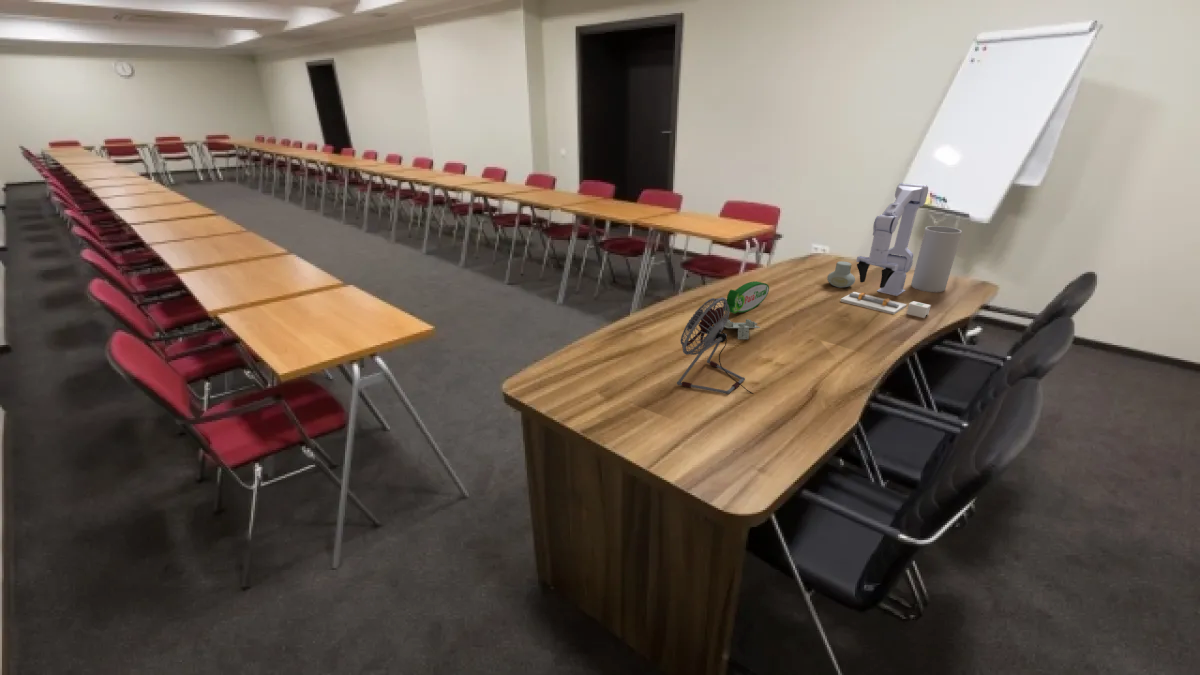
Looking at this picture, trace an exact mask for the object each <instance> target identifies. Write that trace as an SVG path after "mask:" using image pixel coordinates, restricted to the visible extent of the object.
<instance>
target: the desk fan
mask: <svg viewBox="0 0 1200 675" xmlns="http://www.w3.org/2000/svg"><path fill="white" fill-rule="evenodd" d="M718 303H719V304H718ZM716 306H717V307H716ZM726 306H727V307H728V309H727V310H728V312H727V311H726V308H727V307H726ZM729 316H730V312H729V306H728V304H727V298H725V297H723V296H722V297H719V298H714V297H713V298H709V299H707V300H706V301H705V302H704V303H703V304H702V305H701V306H700V307H698V309H697V310H696V311H695V312H694V314H693V315H692V316H691V317H690V319H688V322H687V323H686V325H685V327H684V329H683V331H682V333H681V334H682V335H681V336H680V344H681V346H682V353H683V354H684V355H686V356H687V355H691V356H693V355H694V356H695V355H696V357H695V358H694V359H693V361H692V362H691V364H689V366H688V367H687V369H686V370H685V372H684V373H683V374H682V375H681V376H680V378H679V379H678V381H676V384H677V385H678V386H682V387H684V388H690V389H691V388H695V389H700V390H706V391H711V392H714V393H715V392H716V393H722V394H727V395H728V394H731V392H732V391H734V390H736V389H737V388H738V387H740V386H741V387H742V388H743V389H744V390H745V391H746V392H748V393H750V394H752V395H755V393H754V392H752V391H750V390H748V388H746V387H745V386H743V385H742V383H743V382H744V381H745V380H746V377H745V376H743V377H742V376H741V375H739V374H737V373H735V372H733V371H730V370H728V369H727V368H725V367H723V366H722V363H721V354H722V352H723V351H724V349H725V348H726V346H727V341H728V336H727V333H724V332H723V330H724V328H726V327H725V324H726V323H727V321H728V320H729ZM697 326H698V327H699V328H700V330H699V328H698V327H697ZM696 331H697V333H696ZM692 335H693V336H692ZM694 342H695V344H696V346H695V344H694ZM698 342H699V343H698ZM720 343H724V346H723V348H722V349H721V350H720V352H719V354H718V361H719V362H718V363H717V362H715V361H713V360H712V358H713V356H714V354H715V352H716V350H717V349H718V347H719V345H720ZM691 344H692V346H691ZM714 345H715V346H714ZM713 346H714V347H713ZM711 347H713V350H712V351H711V353H710V355H709V357H708V358H707V360H706V363H708V364H709V366H712V367H713V368H716V369H719V370H722V371H723V372H725V373H726V374H727V376H728V377H729V378H730V379H731V380H733V381H734V383H733V384H732V385H731V387H729V389H726V390H725V389H719V388H714V387H710V386H709V387H708V386H703V385H698V384H693V383H692V382H687V381H683V380H684V379H685V377H686V376H687V375H688V374H689V372H690V371H691V369H692V368H693V367H694V366H695V365H696V363H697V362H698V360H699V358H700V357H701V356H703V354H704V352H705V351H707V350H709V349H710V348H711ZM689 348H690V349H689ZM731 375H732V376H734V377H735V378H737V379H739V380H738V381H737V380H736V379H734V378H733V377H732V376H731Z"/></svg>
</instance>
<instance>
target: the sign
mask: <svg viewBox="0 0 1200 675" xmlns="http://www.w3.org/2000/svg"><path fill="white" fill-rule="evenodd" d="M769 292H770V287H769V284H767V283H764V282H761V281H755V280H754V281H749V282H747V283H744V284H742V285H740V286H739V287H738V288H736V289H730V290H729V292H728V294H727V296H726V300H727V304H728V306H729V313H731V314H737V313H746V312H750V311H751V310H753V309H755V308H757V307H758V306H759V305H761V303H762V302H764V300H765V299H767V296H768V294H769ZM726 307H727V306H726ZM727 309H728V307H727V308H726V312H727V313H728V310H727Z"/></svg>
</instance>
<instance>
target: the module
mask: <svg viewBox="0 0 1200 675" xmlns="http://www.w3.org/2000/svg"><path fill="white" fill-rule="evenodd" d="M931 307H932V304H927V303H923V302H919V301H914V300H913V301H911V302H909V303H908V307H907V310H906V315H910V316H913V317H918V318H922V319H925V318H926V317H928V316H929V314H930V309H931ZM926 315H927V316H926Z"/></svg>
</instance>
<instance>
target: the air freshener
mask: <svg viewBox="0 0 1200 675" xmlns="http://www.w3.org/2000/svg"><path fill="white" fill-rule="evenodd" d="M852 265H853V264H852V263H851V262H848V261H837V262H836V263H835V269H834V270H833V271H831V272H830V273H829V274H828V275H827V278H826V279H827V282H828V283H829V284H830V285H831V286H833V287H835V288H840V289H842V288H848V287H851V286H852V285H854V283H855V281H856V278H855V276H854V275H853V273H851V269H852Z"/></svg>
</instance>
